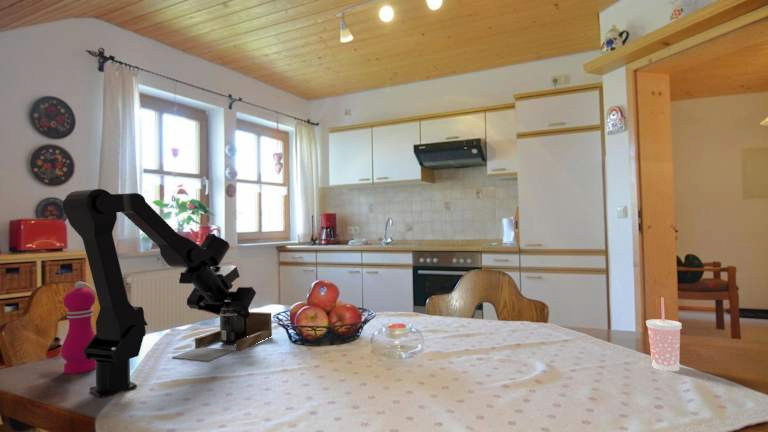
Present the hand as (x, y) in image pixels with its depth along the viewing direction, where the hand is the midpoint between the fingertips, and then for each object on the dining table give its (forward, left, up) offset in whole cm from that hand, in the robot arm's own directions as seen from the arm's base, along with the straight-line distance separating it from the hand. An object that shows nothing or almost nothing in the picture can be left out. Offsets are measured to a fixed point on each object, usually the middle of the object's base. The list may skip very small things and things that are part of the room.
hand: (236, 315), depth 120 cm
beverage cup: (-94, -39, -7) cm, 102 cm away
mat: (-4, +12, -7) cm, 14 cm away
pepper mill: (+9, +34, -7) cm, 36 cm away
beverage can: (0, +1, -7) cm, 7 cm away
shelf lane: (0, +1, -7) cm, 7 cm away
